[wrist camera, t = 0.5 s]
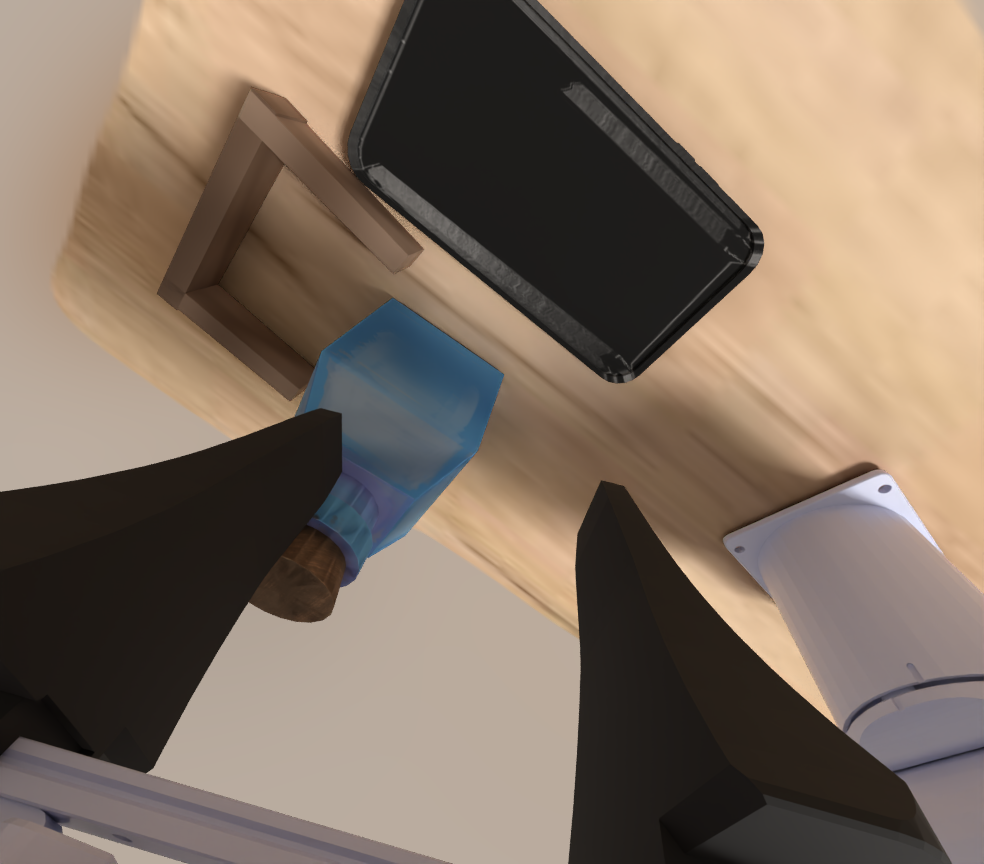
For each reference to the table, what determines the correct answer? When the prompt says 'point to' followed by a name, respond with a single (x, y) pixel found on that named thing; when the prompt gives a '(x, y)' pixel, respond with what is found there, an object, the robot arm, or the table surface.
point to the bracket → (233, 206)
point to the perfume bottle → (381, 449)
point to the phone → (548, 180)
